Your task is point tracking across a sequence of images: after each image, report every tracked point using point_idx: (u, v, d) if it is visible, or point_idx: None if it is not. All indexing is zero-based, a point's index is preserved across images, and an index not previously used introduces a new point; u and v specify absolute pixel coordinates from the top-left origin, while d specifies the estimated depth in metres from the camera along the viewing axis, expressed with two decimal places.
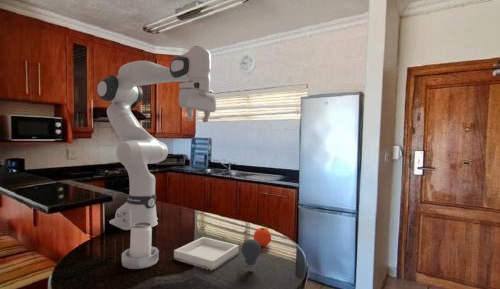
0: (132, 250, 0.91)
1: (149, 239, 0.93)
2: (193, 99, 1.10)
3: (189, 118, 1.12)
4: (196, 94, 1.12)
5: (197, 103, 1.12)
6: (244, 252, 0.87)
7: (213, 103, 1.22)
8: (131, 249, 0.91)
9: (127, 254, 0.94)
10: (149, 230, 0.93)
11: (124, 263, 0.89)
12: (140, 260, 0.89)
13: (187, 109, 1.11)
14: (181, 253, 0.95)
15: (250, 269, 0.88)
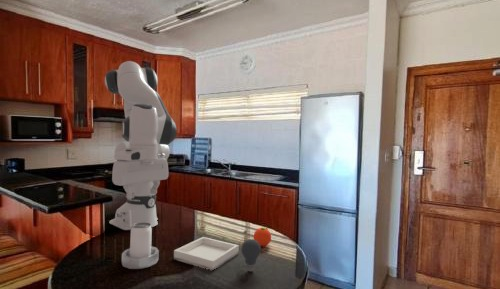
0: (132, 250, 0.91)
1: (149, 239, 0.93)
2: (132, 173, 0.87)
3: (128, 196, 0.88)
4: (137, 165, 0.89)
5: (138, 176, 0.89)
6: (244, 252, 0.87)
7: (164, 169, 0.99)
8: (131, 249, 0.91)
9: (127, 254, 0.94)
10: (149, 230, 0.93)
11: (124, 263, 0.89)
12: (140, 260, 0.89)
13: (125, 185, 0.88)
14: (181, 253, 0.95)
15: (250, 269, 0.88)
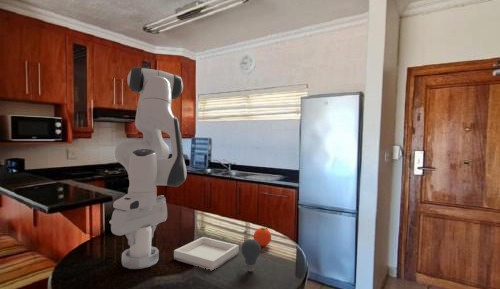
0: (132, 250, 0.91)
1: (149, 239, 0.93)
2: (131, 221, 0.88)
3: (129, 243, 0.90)
4: (136, 213, 0.89)
5: (137, 223, 0.90)
6: (244, 252, 0.87)
7: (163, 212, 1.00)
8: (131, 249, 0.91)
9: (127, 254, 0.94)
10: (149, 230, 0.93)
11: (124, 263, 0.89)
12: (140, 260, 0.89)
13: (126, 233, 0.89)
14: (181, 253, 0.95)
15: (250, 269, 0.88)
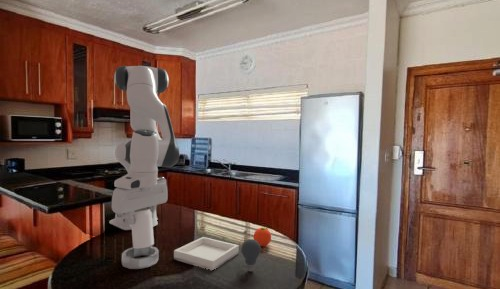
0: (134, 234, 0.91)
1: (150, 222, 0.93)
2: (131, 200, 0.88)
3: (130, 222, 0.90)
4: (136, 193, 0.89)
5: (137, 203, 0.90)
6: (244, 252, 0.87)
7: (163, 193, 1.00)
8: (133, 234, 0.91)
9: (127, 254, 0.94)
10: (149, 213, 0.93)
11: (124, 263, 0.89)
12: (140, 260, 0.89)
13: (127, 212, 0.89)
14: (181, 253, 0.95)
15: (250, 269, 0.88)
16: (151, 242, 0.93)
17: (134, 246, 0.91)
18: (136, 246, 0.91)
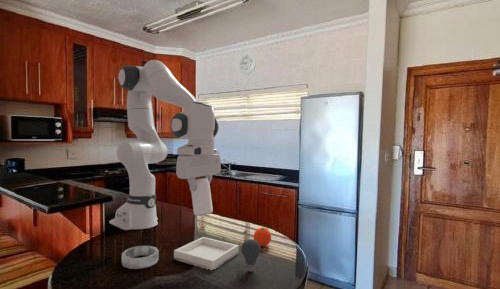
0: (196, 201, 0.95)
1: (209, 190, 0.97)
2: (194, 167, 0.92)
3: (191, 188, 0.94)
4: (197, 160, 0.94)
5: (198, 170, 0.94)
6: (244, 252, 0.87)
7: (217, 164, 1.04)
8: (194, 201, 0.95)
9: (127, 254, 0.94)
10: (208, 181, 0.97)
11: (124, 263, 0.89)
12: (140, 260, 0.89)
13: (189, 179, 0.93)
14: (181, 253, 0.95)
15: (250, 269, 0.88)
16: (211, 209, 0.96)
17: (196, 213, 0.95)
18: (198, 212, 0.94)
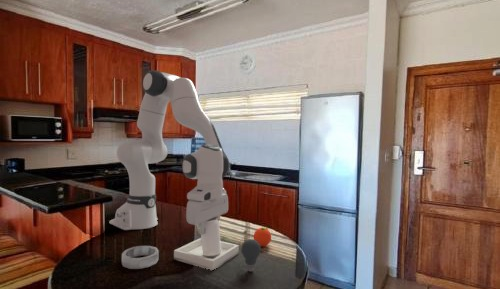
0: (205, 242, 0.96)
1: (218, 231, 0.98)
2: (203, 212, 0.93)
3: (201, 232, 0.96)
4: (207, 204, 0.95)
5: (207, 214, 0.95)
6: (244, 252, 0.87)
7: (225, 204, 1.05)
8: (203, 242, 0.97)
9: (127, 254, 0.94)
10: (217, 222, 0.98)
11: (124, 263, 0.89)
12: (140, 260, 0.89)
13: (198, 222, 0.95)
14: (181, 253, 0.95)
15: (250, 269, 0.88)
16: (220, 250, 0.98)
17: (205, 254, 0.96)
18: (207, 254, 0.96)
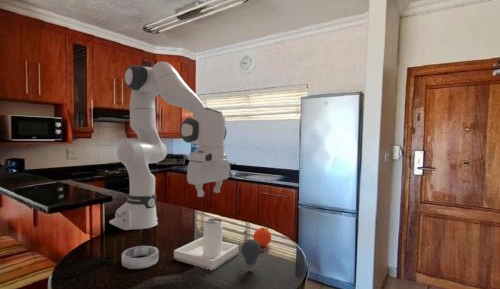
0: (207, 244, 0.96)
1: (221, 234, 0.98)
2: (204, 173, 0.93)
3: (199, 194, 0.95)
4: (208, 166, 0.95)
5: (208, 176, 0.95)
6: (244, 252, 0.87)
7: (226, 169, 1.05)
8: (205, 243, 0.96)
9: (127, 254, 0.94)
10: (221, 226, 0.98)
11: (124, 263, 0.89)
12: (140, 260, 0.89)
13: (197, 184, 0.94)
14: (181, 253, 0.95)
15: (250, 269, 0.88)
16: (220, 253, 0.98)
17: (205, 255, 0.96)
18: (208, 256, 0.96)
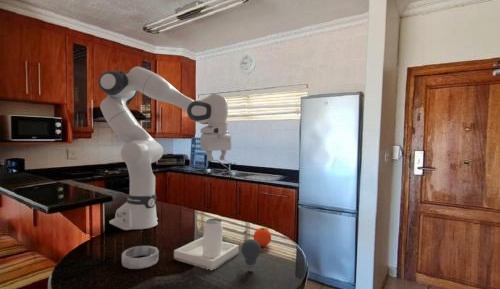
0: (207, 244, 0.96)
1: (221, 234, 0.98)
2: (213, 142, 1.24)
3: (209, 159, 1.26)
4: (215, 138, 1.26)
5: (215, 145, 1.26)
6: (244, 252, 0.87)
7: (229, 142, 1.36)
8: (205, 243, 0.96)
9: (127, 254, 0.94)
10: (221, 226, 0.98)
11: (124, 263, 0.89)
12: (140, 260, 0.89)
13: (207, 151, 1.25)
14: (181, 253, 0.95)
15: (250, 269, 0.88)
16: (220, 253, 0.98)
17: (205, 255, 0.96)
18: (208, 256, 0.96)
